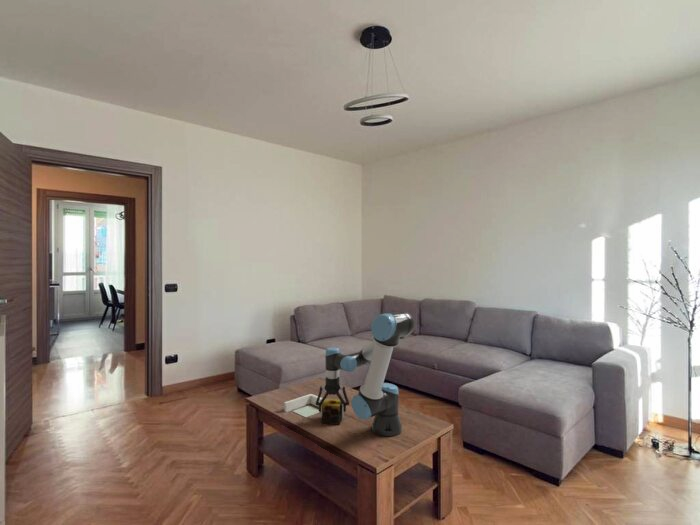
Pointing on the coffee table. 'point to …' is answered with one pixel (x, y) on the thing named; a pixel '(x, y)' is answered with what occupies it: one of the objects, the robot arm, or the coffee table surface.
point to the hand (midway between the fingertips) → (332, 417)
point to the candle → (331, 411)
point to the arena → (301, 402)
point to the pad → (307, 411)
